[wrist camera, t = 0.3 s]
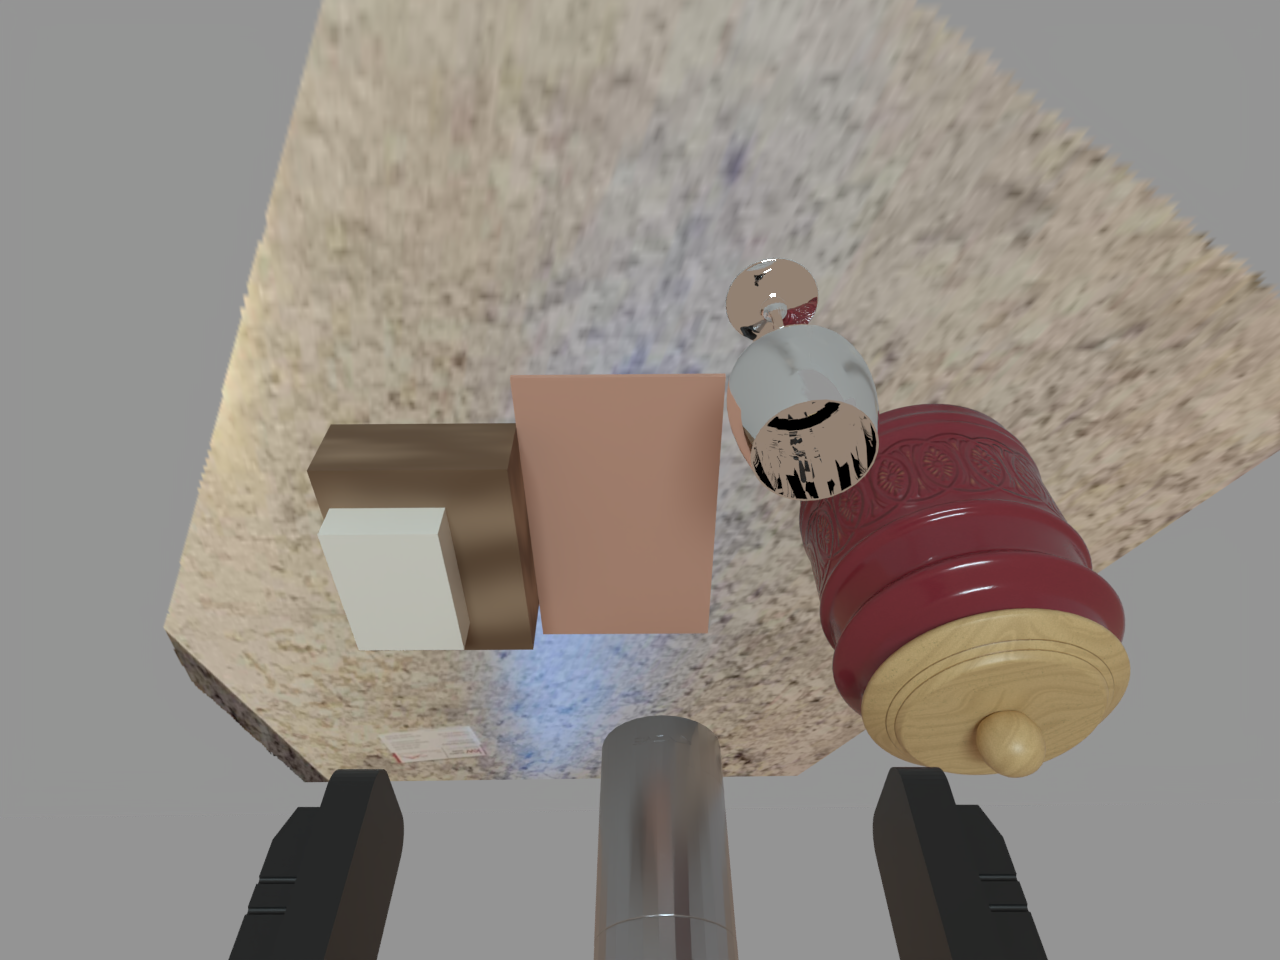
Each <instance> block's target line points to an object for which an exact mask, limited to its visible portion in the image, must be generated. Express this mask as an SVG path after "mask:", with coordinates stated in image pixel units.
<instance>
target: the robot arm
mask: <svg viewBox="0 0 1280 960" xmlns="http://www.w3.org/2000/svg"><path fill="white" fill-rule="evenodd" d="M403 840H404V820H403V815H402V812H401V809H400V807H399V804H398V801H397V798H396V795H395V793H394V790H393V787H392V784H391V782H390V779H389V776H388V773H387V771H386V770H385V769H337V770H336V771H335V772H334V773H333V774H332V776H331V777H330V779H329V782H328V784H327V787H326V790H325V793H324V796H323V799H322V802H321V805H320V807H297V809H296V810H295V811H294V813H293V814H292V815H291V817H290V818H289V819H288V820H287V822H286V823H285V824H284V825H283V827H282V828H281V829H280V831H279V832H278V833H277V834H276V836H275V837H274V838H273V840H272V842H271V845H270V848H269V851H268V853H267V856H266V859H265V861H264V864H263V867H262V870H261V872H260V875H259V882H258V884H256V886H255V889H254V891H253V894H252V897H251V900H250V902H249V905H248V912H247V914H246V915H245V916H244V918H243V921H242V924H241V927H240V929H239V932H238V935H237V938H236V940H235V943H234V946H233V948H232V951H231V954H230V956H229V959H228V960H377V957H378V953H379V948H380V944H381V940H382V936H383V931H384V927H385V923H386V919H387V914H388V910H389V906H390V901H391V897H392V893H393V889H394V884H395V880H396V876H397V872H398V867H399V863H400V859H401V855H402V849H403ZM873 842H874V849H875V854H876V859H877V863H878V867H879V872H880V876H881V880H882V884H883V889H884V893H885V898H886V902H887V906H888V910H889V915H890V919H891V923H892V928H893V932H894V936H895V940H896V945H897V949H898V953H899V958H900V960H1048V959H1047V956H1046V953H1045V950H1044V947H1043V945H1042V942H1041V939H1040V936H1039V934H1038V931H1037V928H1036V925H1035V923H1034V920H1033V917H1032V914H1031V912H1029V911H1028V908H1027V901H1026V898H1025V895H1024V893H1023V890H1022V887H1021V884H1020V882H1019V881H1018V880H1017V877H1016V874H1017V873H1016V871H1015V868H1014V865H1013V863H1012V860H1011V857H1010V854H1009V852H1008V849H1007V846H1006V843H1005V841H1004V838H1003V836H1002V835H1001V834H1000V832H999V831H998V830H997V828H996V827H995V826H994V824H993V823H992V822H991V821H990V819H989V818H988V817H987V815H986V814H985V813H984V812H983V810H982V809H981V808H980V806H979V805H956V803H955V800H954V797H953V794H952V791H951V788H950V785H949V782H948V779H947V777H946V775H945V773H944V772H943V770H942V769H941V768H939V767H891V768H890V770H889V772H888V775H887V778H886V781H885V783H884V786H883V789H882V792H881V795H880V798H879V801H878V803H877V806H876V809H875V812H874V816H873ZM594 960H739V959H738V948H737V939H736V927H735V915H734V904H733V892H732V880H731V869H730V857H729V846H728V834H727V822H726V810H725V798H724V784H723V773H722V762H721V750H720V744H719V740H718V738H717V737H716V735H715V734H714V733H713V732H712V731H711V730H710V729H709V728H707V727H706V726H704V725H702V724H700V723H699V722H696V721H693V720H690V719H687V718H683V717H677V716H666V715H658V716H647V717H642V718H637V719H634V720H631V721H628V722H625V723H623V724H621V725H620V726H618V727H616V728H615V729H614V730H612V731H611V732H610V733H609V734H608V735H607V737H606V738H605V740H604V742H603V746H602V763H601V787H600V807H599V834H598V857H597V882H596V907H595V932H594Z"/></svg>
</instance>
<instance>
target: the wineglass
mask: <svg viewBox="0 0 1280 960" xmlns="http://www.w3.org/2000/svg"><path fill="white" fill-rule="evenodd" d="M818 302H819V291H818V287H817V284H816V280H815V279H814V277H813V276H812V274H811V273H810V271H809V270H807V269H806V268H805V267H804V266H803V265H801V264H799V263H797V262H795V261H794V260H790V259H786V258H768V259H763V260H760V261H757V262H755V263H753V264H751V265H749V266H748V267H746V268H745V269H743V270H742V271H741V272H740V273H739V274H738V275H737V276H736V278H735V279H734V280H733V281H732V283H731V285H730V287H729V289H728V292H727V295H726V302H725V304H726V314H727V316H728V319H729V322H730V323H731V325H732V326H733V328H734V329H735V330H736V331H737V332H738V333H739V334H741V335H742V336H743V337H745V338H747V339H749V340H752V341H753V342H752V343H751V344H750V345H749V346H748V347H747V348H746V349H745V350H744V351H743V352H742V353H741V355H740V356H739V358H738V359H737V361H736V363H735V365H734V367H733V369H732V372H731V374H730V378H729V383H728V389H727V412H728V418H729V422H730V426H731V430H732V433H733V435H734V438H735V440H736V442H737V445H738V447H739V449H740V451H741V453H742V455H743V456H744V458H745V460H746V461H747V463H748V464H749V466H750V467H751V469H752V471H753V472H754V474H755V476H756V477H757V479H758V480H759V481H760V483H761V484H762V485H763V486H764V487H766V488H767V489H768V490H769V491H771V492H773V493H775V494H777V495H779V496H781V497H785V498H788V499H792V500H800V501H810V500H819V499H824V498H829V497H832V496H834V495H837V494H839V493H842V492H844V491H846V490H848V489H849V488H851V487H852V486H854V485H855V484H857V483H858V482H859V481H860V480H861V479H862V478H863V477H864V476H865V475H866V474H867V473H868V471H869V470H870V468H871V467H872V465H873V464H874V461H875V459H876V456H877V453H878V448H879V406H878V399H877V392H876V388H875V384H874V381H873V378H872V375H871V373H870V370H869V368H868V366H867V364H866V362H865V361H864V359H863V357H862V356H861V354H860V353H859V352H858V351H857V350H856V348H855V347H854V346H853V345H852V344H851V343H850V342H849V341H847V340H846V339H845V338H844V337H842V336H841V335H839V334H838V333H836V332H834V331H832V330H830V329H827V328H824V327H821V326H817V325H810V324H809V322H810V321H811V320H812V318H813V316H814V314H815V312H816V309H817V306H818Z"/></svg>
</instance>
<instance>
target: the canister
mask: <svg viewBox="0 0 1280 960" xmlns="http://www.w3.org/2000/svg"><path fill="white" fill-rule="evenodd" d="M799 527H800V533H801V537H802V542H803V546H804V549H805V552H806V554H807V556H808V558H809V560H810V562H811V566H812V570H813V575H814V579H815V583H816V588H817V592H818V596H819V600H820V613H819V614H820V622H821V626H822V630H823V632H824V635H825V637H826V639H827V641H828V642H829V644H830V645H831V647H832V648H833V649H834V654H833V660H832V670H833V678H834V682H835V685H836V688H837V690H838V692H839V694H840V695H841V697H842V698H843V699H844V701H845V702H846V703H847V704H848V706H849V707H850V708H851V709H853V710H854V711H855V712H856V713H857V714H859V715H860V716H862V720H863V723H864V726H865V728H866V730H867V732H868V734H869V735H870V737H871V738H872V739H873V741H874V742H875V743H876V744H877V745H878V746H880V747H881V748H882V749H883V750H885V751H886V752H888V753H890V754H891V755H893V756H895V757H897V758H899V759H902V760H904V761H907V762H910V763H913V764H917V765H921V766H925V767H939V768H941V769H942V770H943V771H944V772H948V773H954V774H963V775H989V774H1000V775H1003V776H1006V777H1010V778H1020V777H1025V776H1028V775H1030V774H1033V773H1034V772H1036V771H1037V770H1038V769H1039V768H1040V767H1041V765H1042V764H1043V762H1046V761H1048V760H1051V759H1053V758H1055V757H1057V756H1059V755H1061V754H1063V753H1065V752H1067V751H1068V750H1070V749H1072V748H1073V747H1075V746H1076V745H1078V744H1079V743H1080V742H1082V741H1083V740H1084V739H1085V738H1086V737H1087V736H1089V735H1090V734H1091V733H1092V732H1093V730H1094V729H1095V728H1096V727H1097V726H1098V724H1100V723H1101V722H1102V721H1103V720H1104V719H1105V718H1106V717H1107V716H1108V715H1109V714H1110V713H1111V712H1112V711H1113V710H1114V708H1115V707H1116V706H1117V705H1118V703H1119V702H1120V700H1121V699H1122V697H1123V695H1124V693H1125V691H1126V689H1127V686H1128V683H1129V679H1130V661H1129V658H1128V654H1127V652H1126V650H1125V648H1124V646H1123V645H1122V641H1123V637H1124V633H1125V614H1124V609H1123V605H1122V602H1121V600H1120V598H1119V596H1118V595H1117V593H1116V591H1115V590H1114V589H1113V588H1112V586H1111V585H1110V584H1109V583H1108V582H1107V581H1106V580H1105V579H1104V578H1103V577H1101V576H1100V575H1099V574H1097V573H1096V572H1095V571H1093V568H1092V560H1091V556H1090V553H1089V550H1088V548H1087V546H1086V543H1085V542H1084V540H1083V539H1082V537H1081V536H1080V535H1079V533H1078V532H1077V531H1076V530H1075V529H1074V528H1073V527H1072V526H1071V525H1070V524H1068V523H1067V521H1066V519H1065V518H1064V516H1063V514H1062V513H1061V511H1060V510H1059V508H1058V506H1057V505H1056V503H1055V502H1054V500H1053V498H1052V497H1051V495H1050V493H1049V492H1048V490H1047V489H1046V487H1045V485H1044V484H1043V482H1042V479H1041V475H1040V472H1039V470H1038V467H1037V465H1036V463H1035V462H1034V460H1033V459H1032V457H1031V456H1030V454H1029V452H1028V451H1027V449H1026V448H1025V447H1024V445H1023V444H1022V443H1021V442H1020V441H1019V440H1018V439H1017V438H1016V437H1015V436H1014V435H1013V434H1012V433H1010V432H1009V431H1008V430H1006V429H1005V428H1004V427H1003V426H1002V425H1001V424H1000V423H998V422H997V421H996V420H994V419H993V418H991V417H989V416H987V415H985V414H983V413H981V412H979V411H976V410H973V409H970V408H966V407H962V406H957V405H950V404H919V405H912V406H906V407H901V408H897V409H893V410H890V411H886V412H884V413H881V414H879V448H878V453H877V456H876V459H875V461H874V464H873V465H872V467H871V468H870V470H869V471H868V473H867V474H866V475H865V476H864V477H863V478H862V479H861V480H860V481H859V482H858V483H857V484H855V485H854V486H852V487H851V488H849V489H848V490H846V491H844V492H842V493H839V494H837V495H834V496H832V497H829V498H824V499H819V500H810V501H800V512H799Z"/></svg>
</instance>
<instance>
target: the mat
mask: <svg viewBox="0 0 1280 960" xmlns="http://www.w3.org/2000/svg"><path fill="white" fill-rule="evenodd" d="M725 380H726V375H725V374H590V375H511V376H510V383H511V391H512V398H513V406H514V414H515V422H516V429H517V437H518V445H519V452H520V460H521V468H522V475H523V483H524V491H525V498H526V506H527V514H528V522H529V529H530V537H531V545H532V552H533V560H534V568H535V575H536V583H537V591H538V599H539V606H540V614H541V622H542V629H543V634H687V633H708V624H709V610H710V595H711V581H712V567H713V552H714V538H715V524H716V509H717V495H718V481H719V466H720V452H721V438H722V423H723V409H724V395H725Z"/></svg>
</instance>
